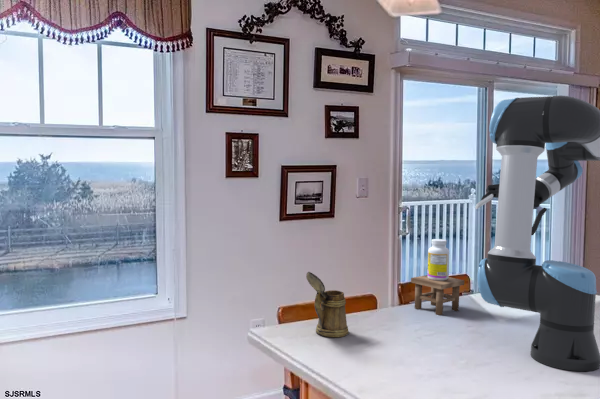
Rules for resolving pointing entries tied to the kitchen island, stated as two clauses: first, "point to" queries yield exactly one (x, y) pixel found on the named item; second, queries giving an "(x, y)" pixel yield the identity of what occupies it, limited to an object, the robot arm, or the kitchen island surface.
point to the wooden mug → (329, 309)
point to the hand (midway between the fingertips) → (491, 222)
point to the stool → (437, 292)
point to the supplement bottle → (438, 260)
